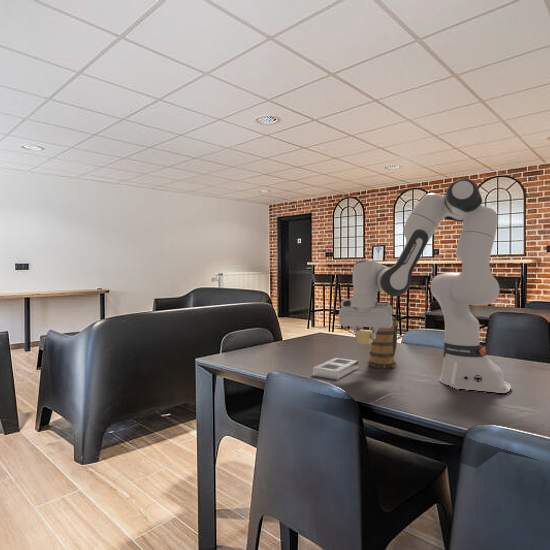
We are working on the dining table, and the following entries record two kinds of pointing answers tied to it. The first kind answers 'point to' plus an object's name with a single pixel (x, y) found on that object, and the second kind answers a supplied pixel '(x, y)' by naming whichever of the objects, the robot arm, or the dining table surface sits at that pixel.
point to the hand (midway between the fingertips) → (365, 338)
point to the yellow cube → (365, 336)
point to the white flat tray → (335, 368)
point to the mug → (384, 347)
